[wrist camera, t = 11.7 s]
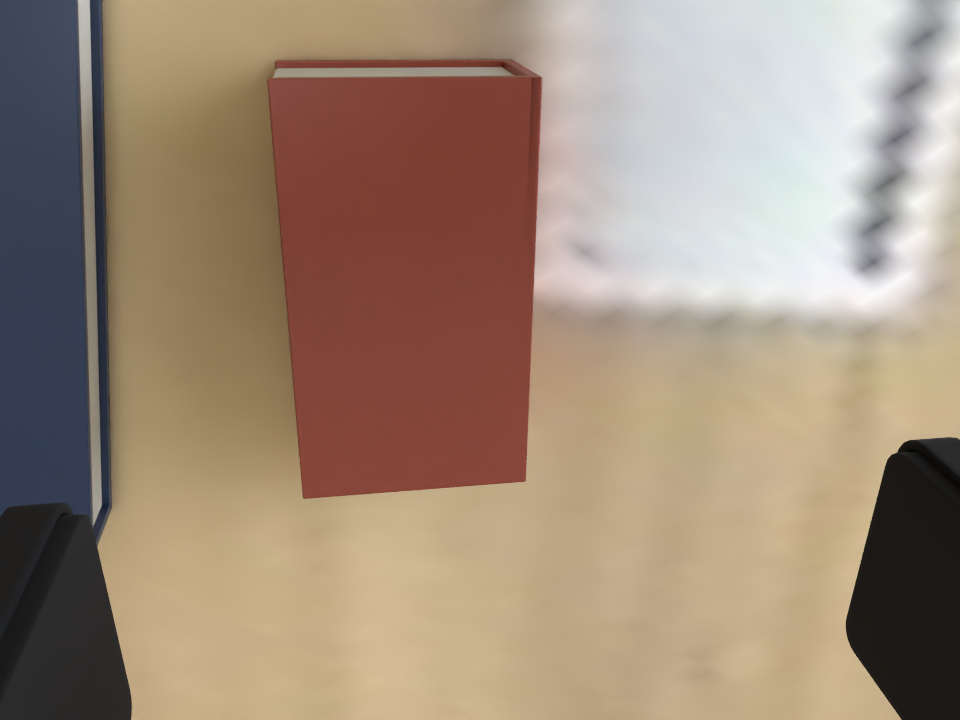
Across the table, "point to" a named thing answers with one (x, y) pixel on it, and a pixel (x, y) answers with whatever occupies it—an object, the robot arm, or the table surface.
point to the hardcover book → (53, 259)
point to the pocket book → (408, 268)
